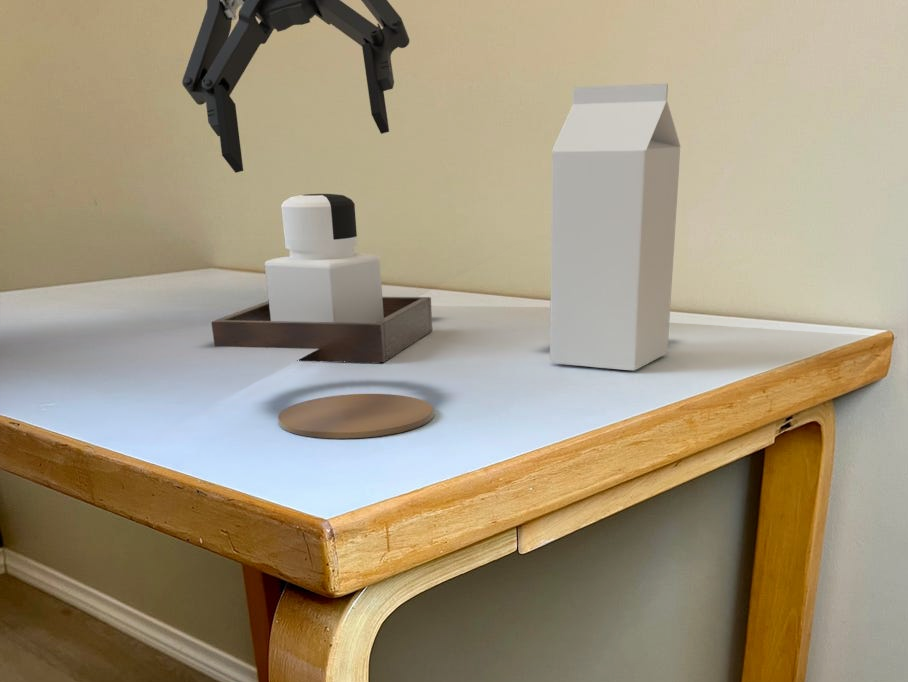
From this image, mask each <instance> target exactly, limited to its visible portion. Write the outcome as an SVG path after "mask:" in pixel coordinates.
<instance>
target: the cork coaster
mask: <svg viewBox="0 0 908 682" xmlns="http://www.w3.org/2000/svg"><path fill="white" fill-rule="evenodd" d="M434 410H435V409H434V407H433V405H432V404H431V403H429V402H428V401H425V400H423V399H420V398H418V397H412V396H406V395H401V394H391V393H352V394H339V395H331V396H323V397H317V398H313V399H308V400H304V401H301V402H298V403H295V404H292V405H290V406H287V407H286V408H284V409H282V410H281V411H280V412H279V413H278V415H277V420H278V425H279V426H280V428H282V429H283V430H284V431H286V432H289V433H292V434H295V435H300V436H304V437H310V438H320V439H339V440H342V439H345V440H346V439H365V438H377V437H382V436H384V437H385V436H389V435H395V434H399V433H404V432H409V431H411V430H414V429H418V428H420V427H423V426H424V425H426V424H428V423H430V422H431V421H432V420H433V418H434V416H435V411H434Z"/></svg>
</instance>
